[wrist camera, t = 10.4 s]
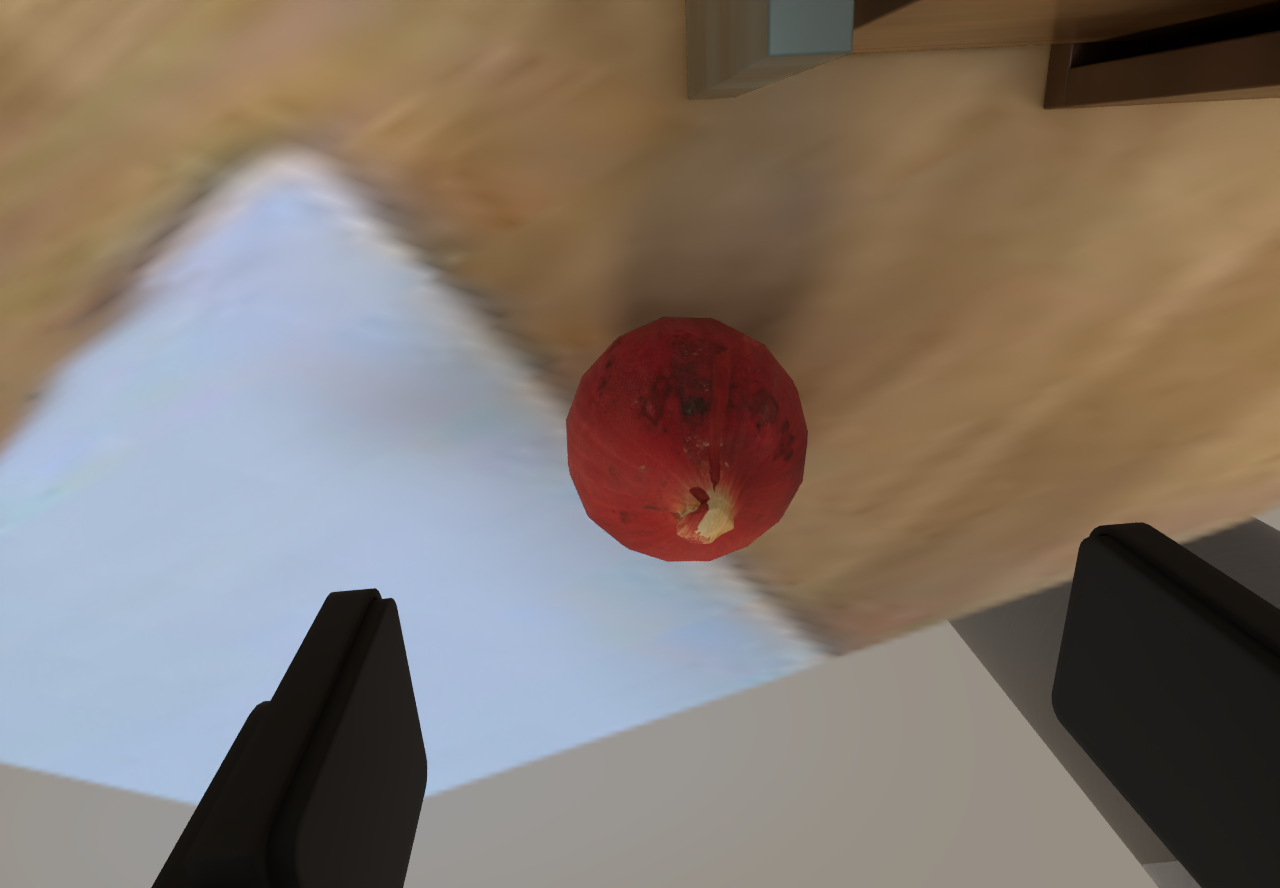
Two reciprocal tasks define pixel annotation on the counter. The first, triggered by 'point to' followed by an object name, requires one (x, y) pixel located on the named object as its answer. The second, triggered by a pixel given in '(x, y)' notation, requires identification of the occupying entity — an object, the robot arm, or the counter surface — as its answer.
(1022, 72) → the counter surface
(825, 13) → the drawer
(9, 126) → the counter surface
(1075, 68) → the cabinet
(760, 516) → the onion
